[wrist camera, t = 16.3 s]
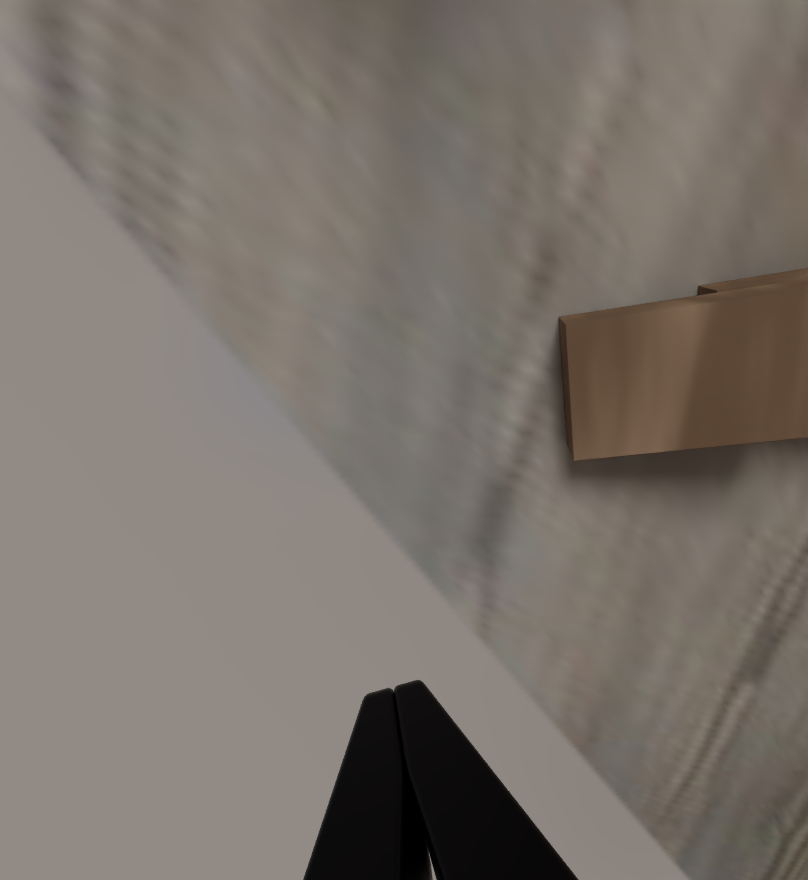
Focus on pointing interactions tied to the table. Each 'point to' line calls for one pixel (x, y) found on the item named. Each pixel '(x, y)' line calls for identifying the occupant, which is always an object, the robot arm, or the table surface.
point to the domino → (687, 372)
